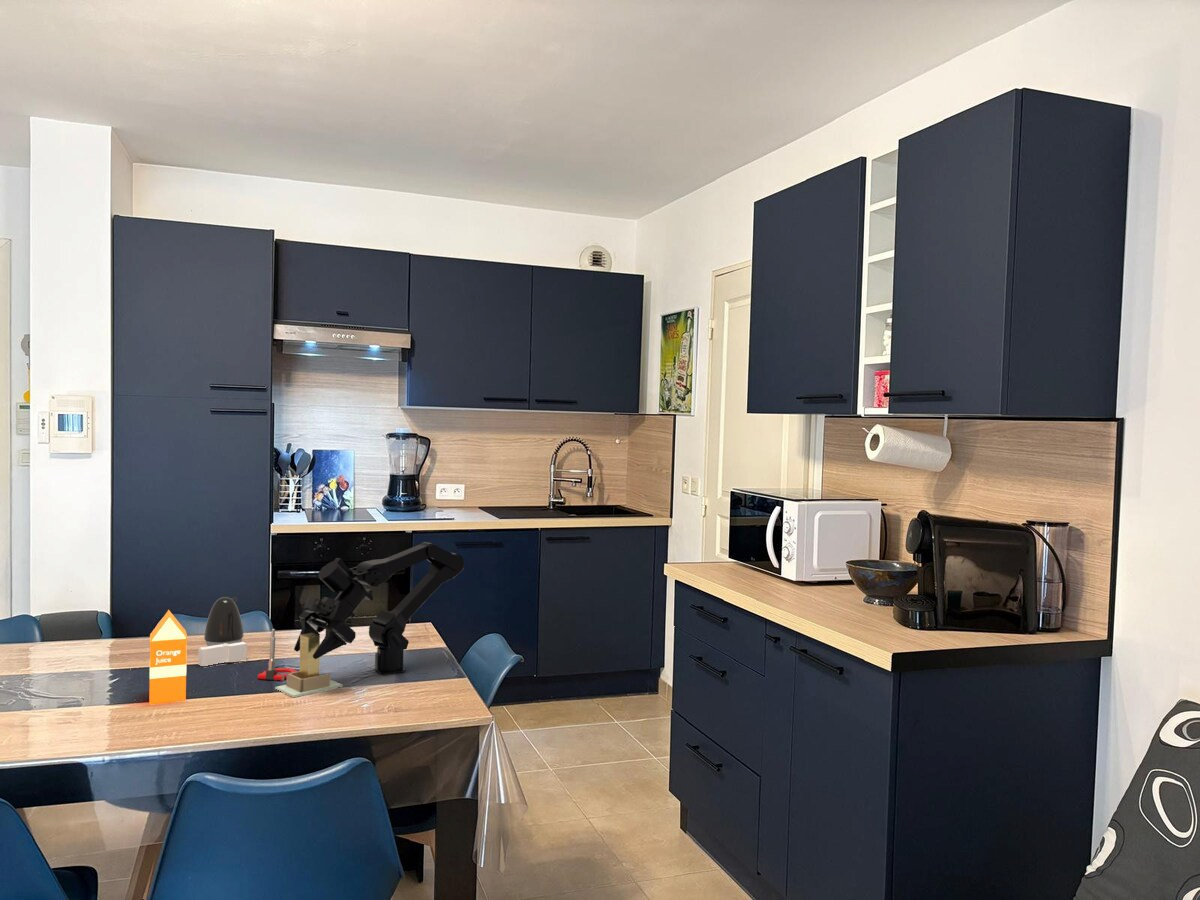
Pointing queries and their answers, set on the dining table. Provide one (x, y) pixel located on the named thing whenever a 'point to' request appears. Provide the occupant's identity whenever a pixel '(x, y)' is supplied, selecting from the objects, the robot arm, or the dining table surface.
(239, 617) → the black rounded cone
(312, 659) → the gold square pillar
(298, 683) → the pale green slotted base
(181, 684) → the orange juice
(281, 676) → the tow hook
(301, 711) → the dining table surface
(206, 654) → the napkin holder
